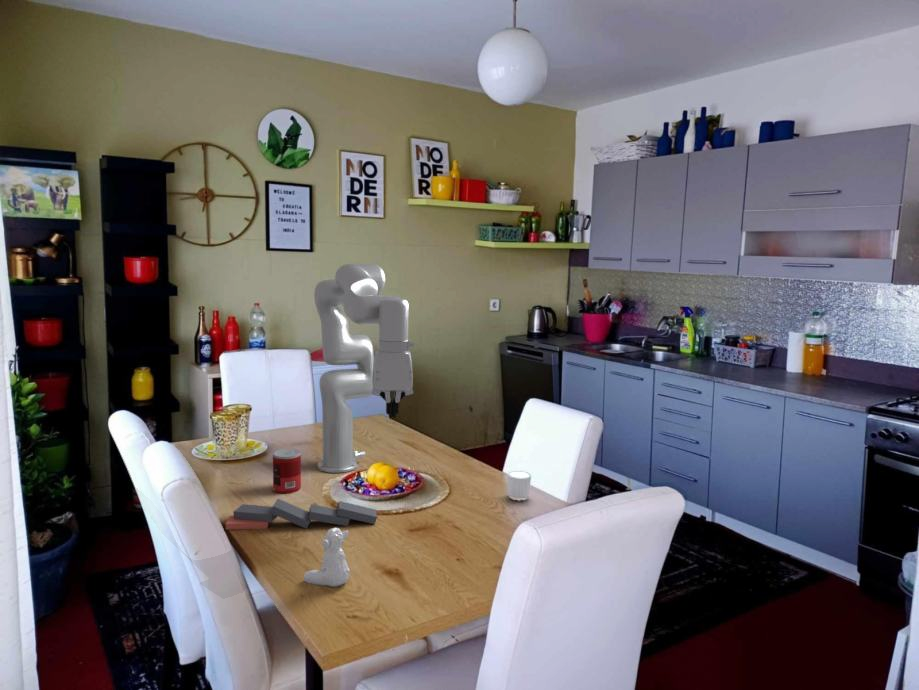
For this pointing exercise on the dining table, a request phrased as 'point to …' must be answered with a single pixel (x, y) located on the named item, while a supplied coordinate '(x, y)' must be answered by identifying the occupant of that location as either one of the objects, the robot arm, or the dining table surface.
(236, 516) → the domino
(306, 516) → the domino
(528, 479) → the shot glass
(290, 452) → the canned food
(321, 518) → the domino
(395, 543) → the dining table surface
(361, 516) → the domino
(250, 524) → the red domino
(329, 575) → the sitting furry creature
